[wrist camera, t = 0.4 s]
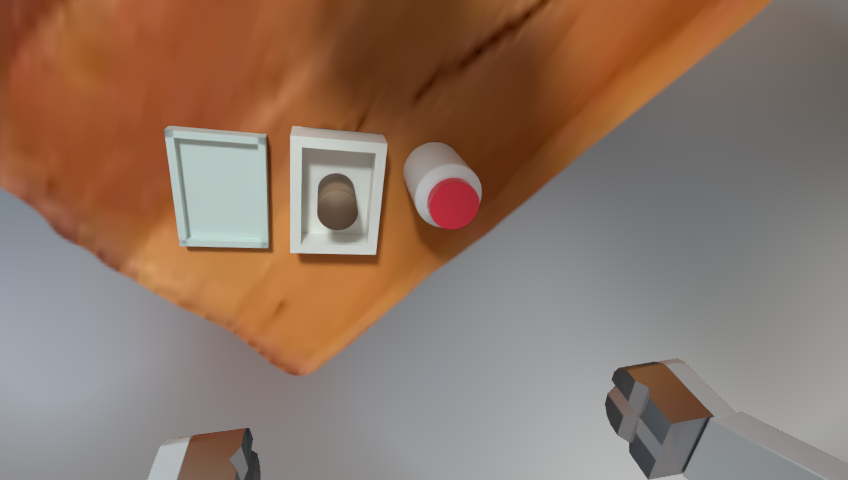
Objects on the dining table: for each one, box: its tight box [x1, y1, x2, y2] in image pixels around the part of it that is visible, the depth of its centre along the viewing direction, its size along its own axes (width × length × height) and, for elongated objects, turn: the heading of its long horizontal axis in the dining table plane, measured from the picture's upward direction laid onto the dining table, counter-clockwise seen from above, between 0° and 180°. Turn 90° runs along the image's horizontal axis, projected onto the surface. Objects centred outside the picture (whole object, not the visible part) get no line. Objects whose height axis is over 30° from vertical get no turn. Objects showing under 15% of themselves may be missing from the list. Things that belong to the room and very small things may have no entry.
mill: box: [317, 173, 358, 230], centre depth 50 cm, size 4×4×6 cm
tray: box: [164, 126, 270, 248], centre depth 50 cm, size 14×10×2 cm
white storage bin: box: [290, 126, 387, 255], centre depth 52 cm, size 14×10×4 cm
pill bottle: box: [403, 142, 482, 229], centre depth 50 cm, size 8×8×11 cm
